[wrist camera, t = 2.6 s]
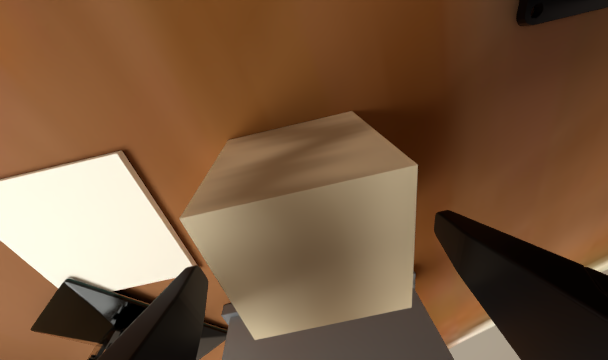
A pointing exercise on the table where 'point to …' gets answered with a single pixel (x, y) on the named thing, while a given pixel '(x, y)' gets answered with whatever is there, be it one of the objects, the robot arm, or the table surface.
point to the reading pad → (90, 225)
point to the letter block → (308, 225)
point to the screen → (344, 338)
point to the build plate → (102, 317)
